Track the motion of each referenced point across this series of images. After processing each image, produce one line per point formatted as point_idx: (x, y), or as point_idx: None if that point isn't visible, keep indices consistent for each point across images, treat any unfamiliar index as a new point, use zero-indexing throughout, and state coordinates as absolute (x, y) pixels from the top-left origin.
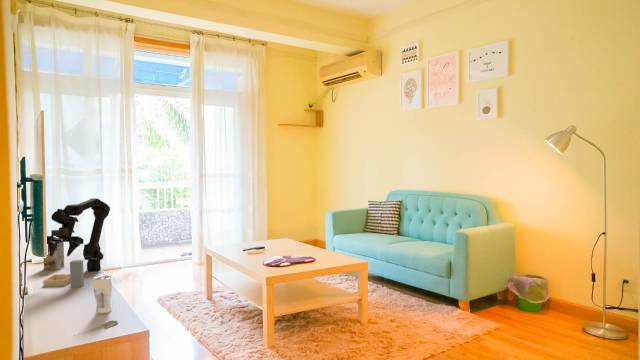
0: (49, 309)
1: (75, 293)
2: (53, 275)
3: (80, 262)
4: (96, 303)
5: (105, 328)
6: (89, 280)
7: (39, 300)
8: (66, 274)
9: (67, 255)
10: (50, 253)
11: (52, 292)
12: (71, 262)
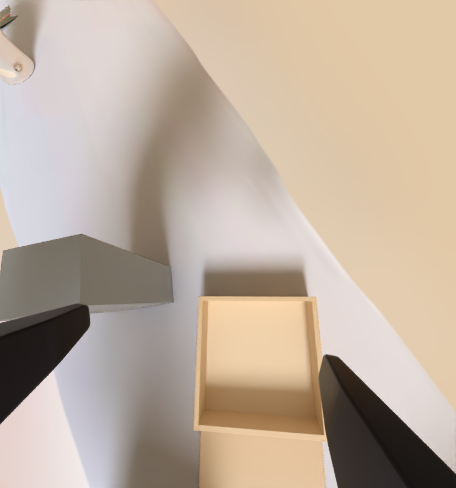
0: (150, 73)
1: (126, 196)
2: (321, 412)
3: (10, 250)
4: (5, 35)
5: (7, 8)
6: (125, 379)
7: (217, 131)
8: (246, 428)
9: (74, 304)
10: (348, 379)
11: (216, 208)
12: (69, 236)
